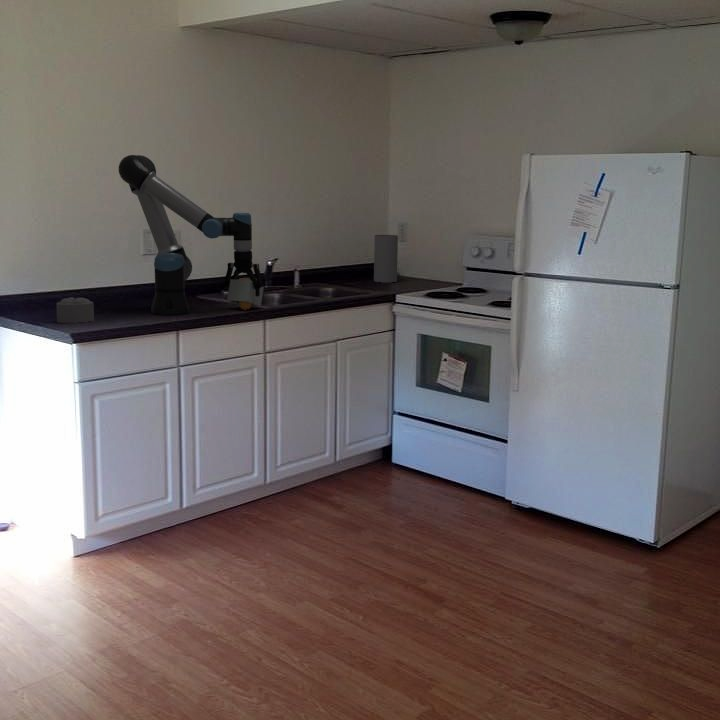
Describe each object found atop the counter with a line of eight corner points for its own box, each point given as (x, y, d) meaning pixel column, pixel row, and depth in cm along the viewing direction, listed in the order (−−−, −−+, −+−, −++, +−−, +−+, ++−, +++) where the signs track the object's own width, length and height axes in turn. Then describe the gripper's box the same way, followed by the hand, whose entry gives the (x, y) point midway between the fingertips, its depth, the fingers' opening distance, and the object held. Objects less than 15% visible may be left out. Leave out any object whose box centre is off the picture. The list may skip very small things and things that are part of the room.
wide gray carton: (247, 301, 371) (251, 280, 371) (227, 300, 375) (230, 279, 376) (260, 306, 380) (263, 286, 381) (240, 305, 384) (243, 284, 385)
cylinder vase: (401, 282, 489) (402, 235, 484) (386, 283, 480) (387, 236, 475) (384, 280, 497) (385, 234, 492) (369, 281, 488) (369, 235, 483)
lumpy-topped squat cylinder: (96, 321, 340) (95, 298, 338) (62, 324, 332) (61, 301, 330) (86, 318, 348) (85, 295, 346) (52, 320, 340) (51, 298, 338)
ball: (255, 304, 376) (249, 313, 375) (245, 300, 378) (239, 310, 377) (251, 297, 372) (245, 307, 370) (241, 294, 374) (235, 303, 372)
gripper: (271, 250, 372) (272, 303, 376) (223, 249, 381) (225, 301, 385) (263, 251, 365) (264, 306, 370) (214, 250, 374) (215, 303, 378)
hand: (244, 303), depth 377 cm, fingers closed on wide gray carton, 10 cm apart
